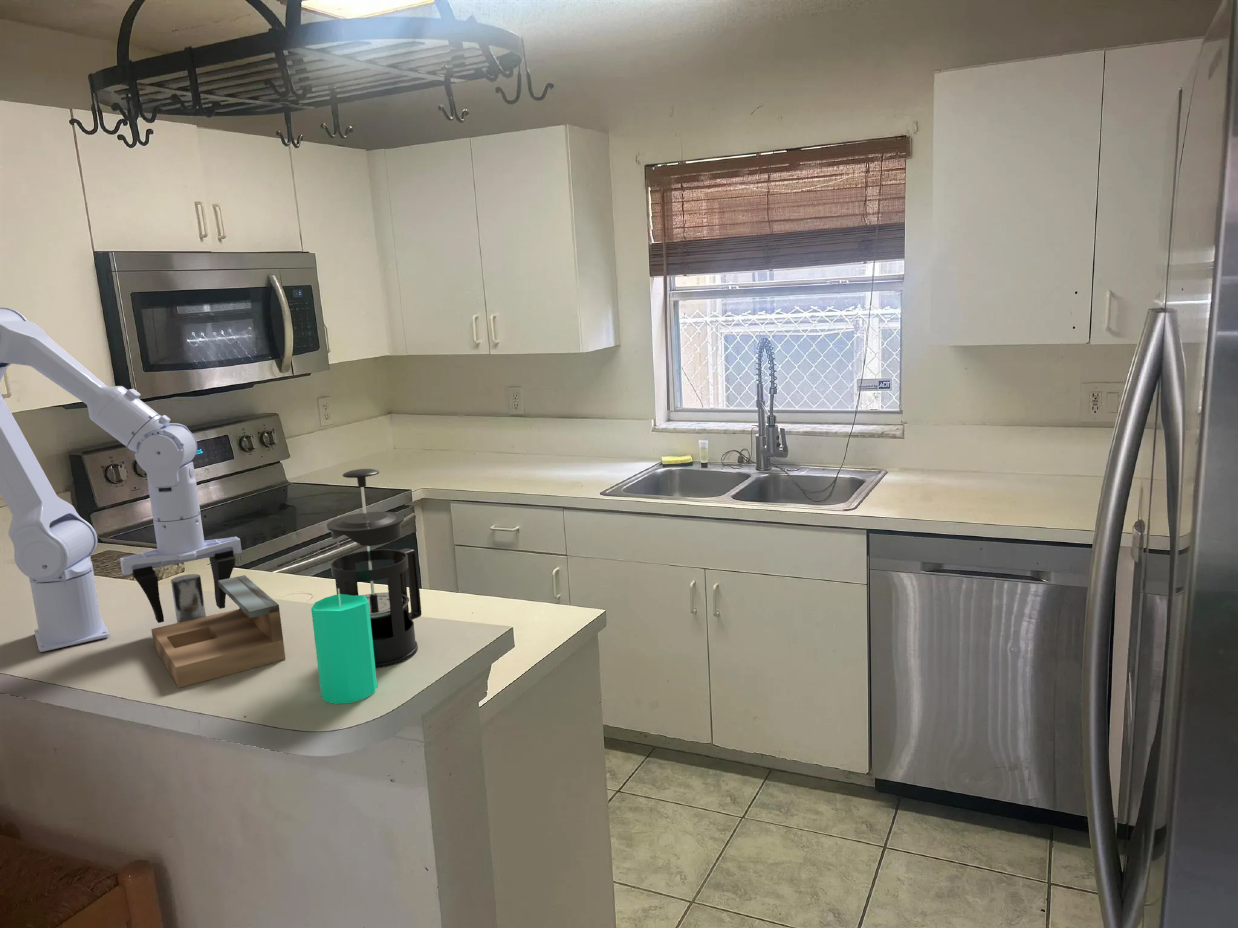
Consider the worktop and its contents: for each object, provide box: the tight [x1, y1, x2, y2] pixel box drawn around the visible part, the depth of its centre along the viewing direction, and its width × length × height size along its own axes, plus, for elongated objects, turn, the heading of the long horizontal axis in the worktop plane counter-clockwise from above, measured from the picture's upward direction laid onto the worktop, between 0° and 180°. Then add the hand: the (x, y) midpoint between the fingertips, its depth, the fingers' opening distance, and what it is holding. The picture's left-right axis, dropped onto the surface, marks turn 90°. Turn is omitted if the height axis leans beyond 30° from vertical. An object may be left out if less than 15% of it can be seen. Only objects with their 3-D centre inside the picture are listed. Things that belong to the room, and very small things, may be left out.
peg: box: [170, 573, 207, 623], centre depth 121 cm, size 4×4×7 cm
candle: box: [310, 589, 378, 705], centre depth 99 cm, size 6×6×12 cm
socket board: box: [151, 574, 286, 688], centre depth 112 cm, size 16×12×7 cm
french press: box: [326, 468, 422, 669], centre depth 108 cm, size 12×9×23 cm
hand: (190, 613), depth 122 cm, fingers open, 7 cm apart
